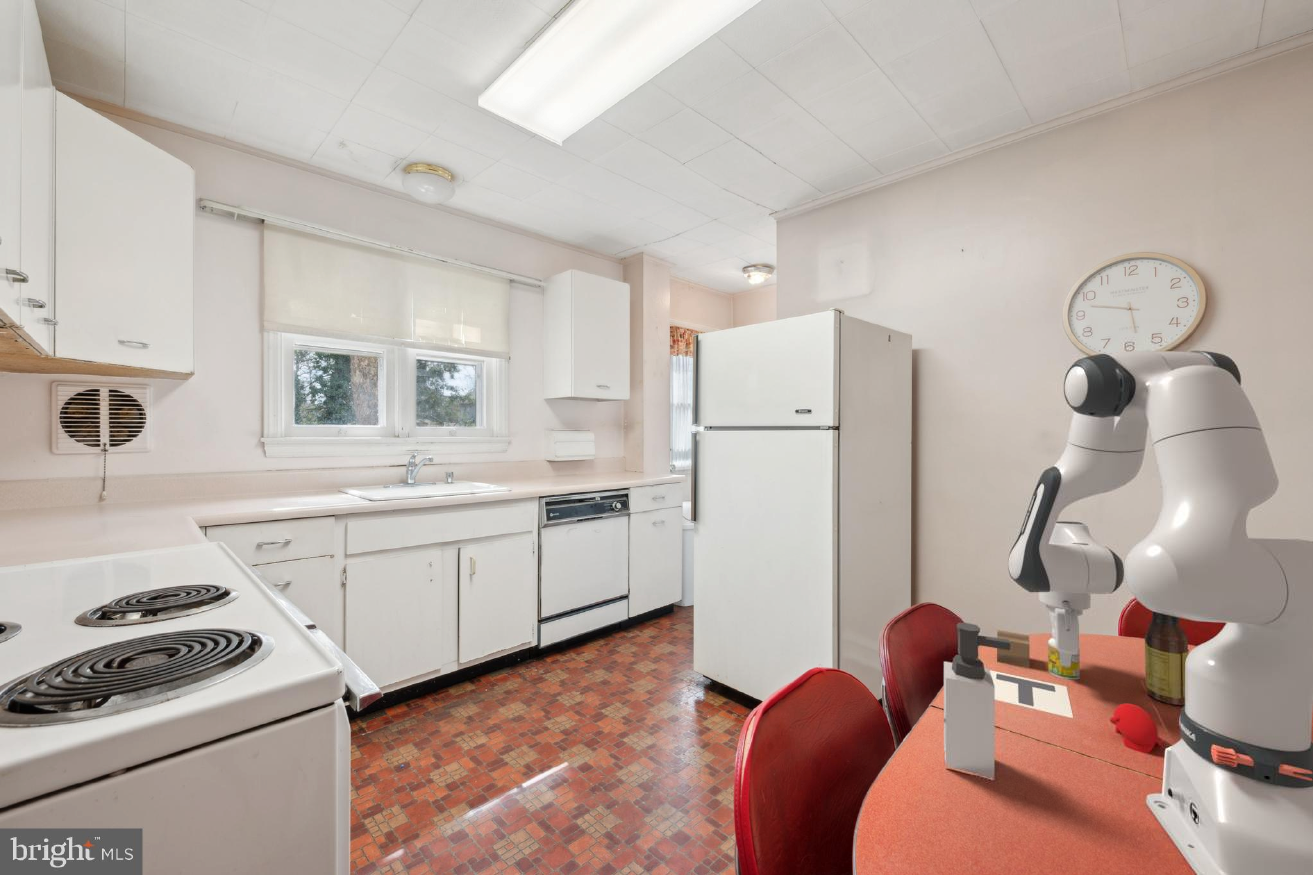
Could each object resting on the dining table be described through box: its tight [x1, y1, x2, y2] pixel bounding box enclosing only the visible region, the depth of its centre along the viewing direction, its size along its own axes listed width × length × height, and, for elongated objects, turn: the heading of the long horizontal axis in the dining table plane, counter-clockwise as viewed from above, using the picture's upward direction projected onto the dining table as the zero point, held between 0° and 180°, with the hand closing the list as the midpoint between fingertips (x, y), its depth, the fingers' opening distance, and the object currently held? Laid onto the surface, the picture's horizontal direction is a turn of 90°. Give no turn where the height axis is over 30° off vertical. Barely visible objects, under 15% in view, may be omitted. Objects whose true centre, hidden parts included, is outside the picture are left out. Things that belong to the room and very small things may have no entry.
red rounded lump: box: [1109, 703, 1164, 754], centre depth 89 cm, size 8×6×6 cm
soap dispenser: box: [943, 622, 1010, 780], centre depth 83 cm, size 6×9×22 cm
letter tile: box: [989, 669, 1074, 719], centre depth 105 cm, size 14×14×1 cm
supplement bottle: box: [1047, 629, 1081, 680], centre depth 113 cm, size 5×5×10 cm
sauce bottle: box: [1144, 611, 1190, 706], centre depth 103 cm, size 7×6×20 cm
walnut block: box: [996, 629, 1031, 669], centre depth 120 cm, size 6×6×6 cm
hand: (1063, 659), depth 113 cm, fingers closed on supplement bottle, 5 cm apart
